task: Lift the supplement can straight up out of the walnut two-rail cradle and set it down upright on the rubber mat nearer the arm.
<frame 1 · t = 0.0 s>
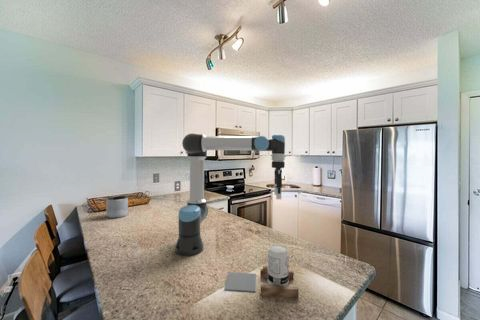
hand: (277, 196, 125), 28 cm above the countertop, fingers open, 13 cm apart
supplement can: (277, 286, 85), on the countertop
cradle: (277, 285, 85), on the countertop
mat: (241, 281, 88), on the countertop
planter: (117, 216, 180), on the countertop
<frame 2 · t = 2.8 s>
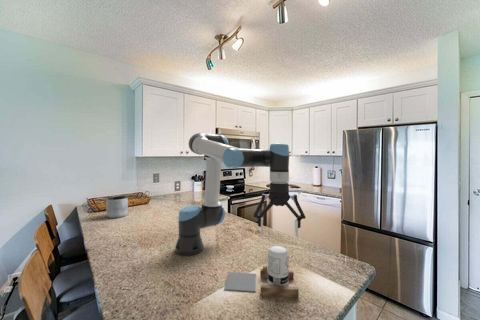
hand: (278, 235, 85), 21 cm above the countertop, fingers open, 13 cm apart
nothing on the countertop moved.
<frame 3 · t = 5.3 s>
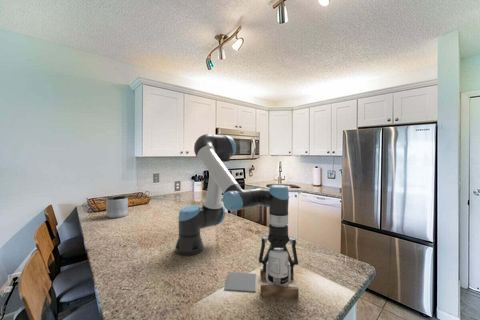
hand: (277, 280, 85), 2 cm above the countertop, fingers closed on supplement can, 8 cm apart
supplement can: (277, 286, 85), on the countertop, touching gripper
everything else where it was.
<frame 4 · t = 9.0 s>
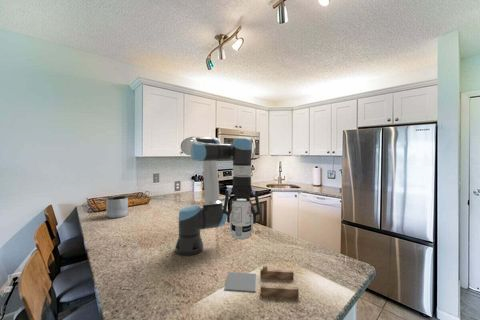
hand: (241, 230, 87), 21 cm above the countertop, fingers closed on supplement can, 8 cm apart
supplement can: (241, 236, 87), point 19 cm above the countertop, touching gripper
everything else where it was.
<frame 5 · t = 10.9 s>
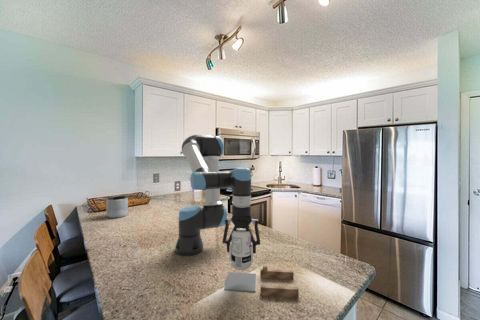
hand: (241, 260, 87), 9 cm above the countertop, fingers closed on supplement can, 8 cm apart
supplement can: (241, 266, 87), point 7 cm above the countertop, touching gripper
everything else where it was.
when the fingers open (5 cm above the countertop, at t = 12.7 s): supplement can drops 2 cm, resting on mat.
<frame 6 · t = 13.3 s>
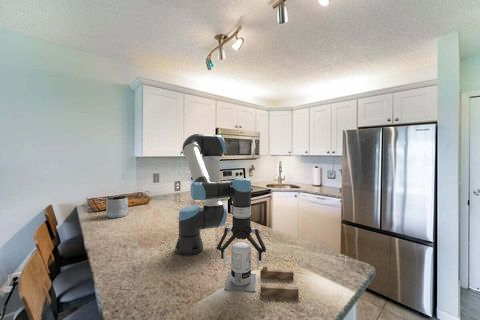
hand: (241, 267, 87), 6 cm above the countertop, fingers open, 13 cm apart
supplement can: (240, 281, 88), resting on mat
everything else where it was.
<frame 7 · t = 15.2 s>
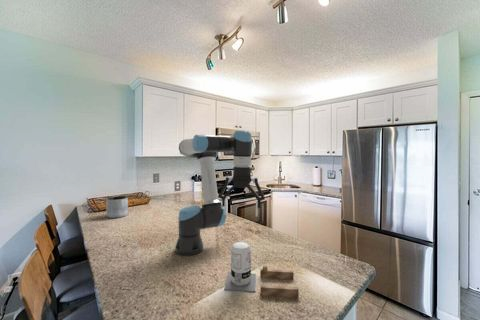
hand: (241, 214, 93), 26 cm above the countertop, fingers open, 13 cm apart
nothing on the countertop moved.
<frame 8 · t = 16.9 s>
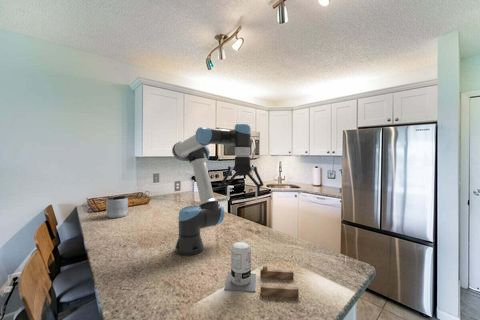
hand: (242, 200, 102), 31 cm above the countertop, fingers open, 13 cm apart
nothing on the countertop moved.
at the end: supplement can inside the target area on the mat (0.1 cm from its centre), point 0.2 cm above the mat's base; supplement can tilted 0°; the gripper is holding nothing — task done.
